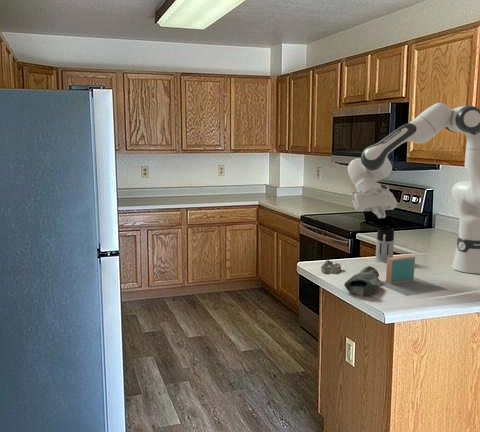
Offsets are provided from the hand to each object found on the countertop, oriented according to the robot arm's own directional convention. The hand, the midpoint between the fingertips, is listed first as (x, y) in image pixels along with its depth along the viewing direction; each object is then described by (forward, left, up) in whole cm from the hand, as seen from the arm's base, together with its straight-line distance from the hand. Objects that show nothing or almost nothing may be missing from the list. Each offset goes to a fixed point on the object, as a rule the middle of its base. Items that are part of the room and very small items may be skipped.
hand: (382, 217), depth 210 cm
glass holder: (-17, -18, -25) cm, 35 cm away
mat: (0, +18, -25) cm, 31 cm away
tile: (0, +12, -24) cm, 27 cm away
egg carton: (+15, -14, -25) cm, 32 cm away
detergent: (+17, +12, -25) cm, 32 cm away
